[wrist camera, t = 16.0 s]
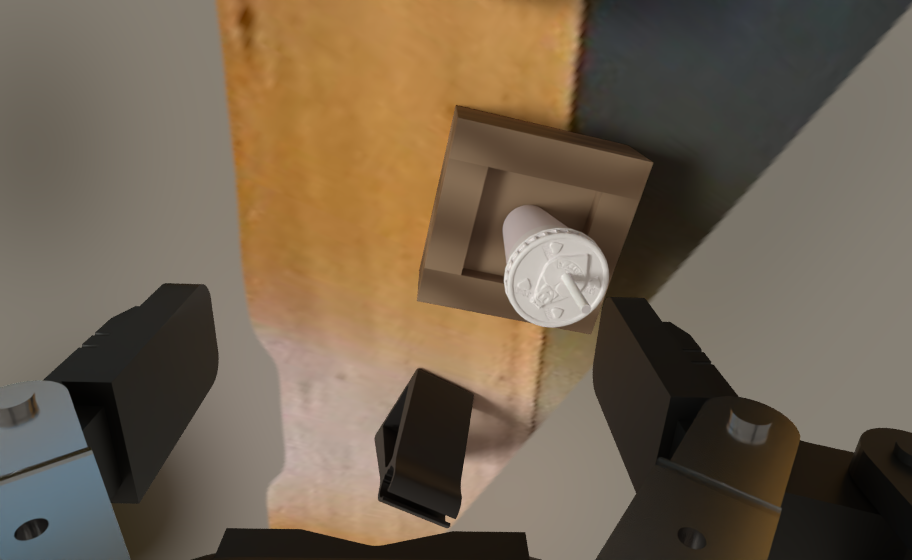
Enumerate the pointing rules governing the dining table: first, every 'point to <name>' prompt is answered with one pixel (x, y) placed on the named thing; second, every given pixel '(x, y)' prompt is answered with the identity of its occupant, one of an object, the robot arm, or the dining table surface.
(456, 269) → the walnut tray
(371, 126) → the dining table surface
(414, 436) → the phone stand
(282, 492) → the dining table surface
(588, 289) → the smoothie
